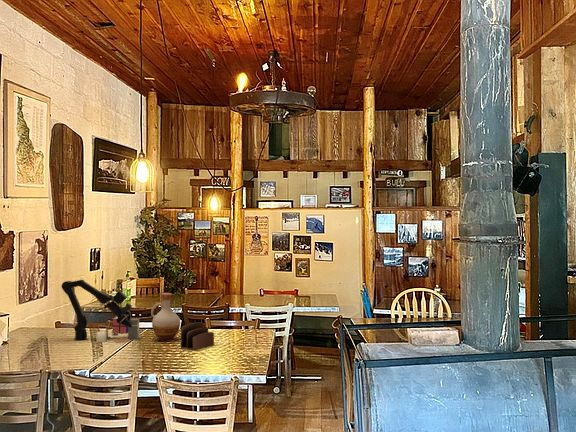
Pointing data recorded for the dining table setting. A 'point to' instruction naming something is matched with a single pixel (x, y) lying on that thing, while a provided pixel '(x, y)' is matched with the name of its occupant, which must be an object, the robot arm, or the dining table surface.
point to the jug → (165, 320)
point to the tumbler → (133, 329)
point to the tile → (121, 340)
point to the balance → (107, 331)
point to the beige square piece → (101, 336)
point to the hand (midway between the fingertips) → (132, 325)
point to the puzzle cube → (119, 327)
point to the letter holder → (196, 336)
